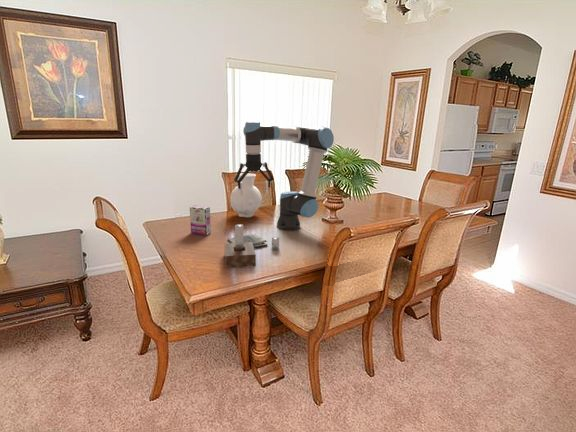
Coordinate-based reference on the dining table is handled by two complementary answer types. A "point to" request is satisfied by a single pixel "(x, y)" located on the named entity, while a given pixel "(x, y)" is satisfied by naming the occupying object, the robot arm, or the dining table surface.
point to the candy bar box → (200, 220)
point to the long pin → (239, 237)
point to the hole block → (240, 256)
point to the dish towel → (252, 240)
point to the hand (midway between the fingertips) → (254, 194)
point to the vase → (246, 197)
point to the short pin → (275, 243)
